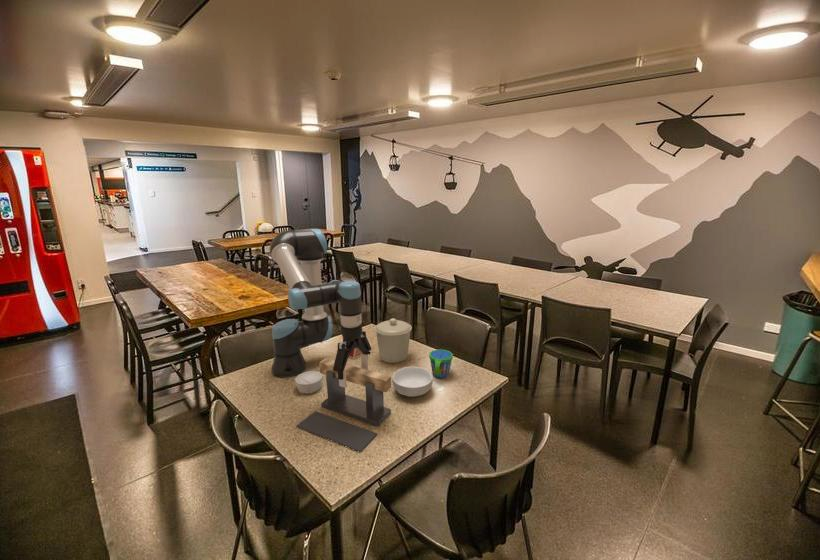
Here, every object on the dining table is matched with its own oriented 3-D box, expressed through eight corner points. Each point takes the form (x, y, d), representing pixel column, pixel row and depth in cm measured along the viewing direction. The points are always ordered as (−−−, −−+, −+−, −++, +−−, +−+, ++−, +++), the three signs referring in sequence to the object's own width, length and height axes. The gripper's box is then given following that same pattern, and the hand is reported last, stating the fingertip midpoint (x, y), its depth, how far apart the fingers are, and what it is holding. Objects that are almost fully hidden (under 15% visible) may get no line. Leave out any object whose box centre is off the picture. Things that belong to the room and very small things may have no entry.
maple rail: (320, 372, 143) (319, 362, 142) (326, 368, 146) (325, 358, 145) (385, 392, 129) (385, 381, 128) (391, 387, 132) (390, 376, 131)
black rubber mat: (296, 427, 131) (296, 425, 131) (315, 412, 140) (315, 410, 140) (360, 452, 119) (360, 451, 118) (377, 434, 127) (377, 433, 127)
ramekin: (291, 394, 152) (290, 383, 151) (302, 380, 163) (301, 369, 161) (317, 396, 150) (316, 385, 149) (327, 382, 161) (326, 371, 160)
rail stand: (321, 407, 143) (318, 371, 139) (336, 395, 151) (334, 361, 147) (378, 427, 131) (376, 388, 127) (391, 413, 139) (390, 376, 135)
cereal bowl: (384, 390, 155) (384, 374, 153) (414, 376, 165) (414, 362, 163) (410, 408, 142) (410, 391, 140) (441, 392, 152) (441, 377, 151)
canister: (369, 364, 177) (368, 323, 171) (383, 348, 193) (382, 310, 188) (405, 369, 171) (405, 327, 166) (416, 353, 188) (416, 314, 183)
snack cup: (435, 365, 176) (435, 345, 173) (456, 369, 172) (457, 349, 169) (423, 380, 162) (423, 359, 159) (446, 385, 158) (446, 364, 155)
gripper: (337, 338, 119) (341, 396, 125) (379, 315, 141) (380, 365, 146) (319, 334, 123) (324, 391, 128) (363, 312, 144) (365, 361, 149)
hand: (354, 377), depth 137 cm, fingers open, 13 cm apart
